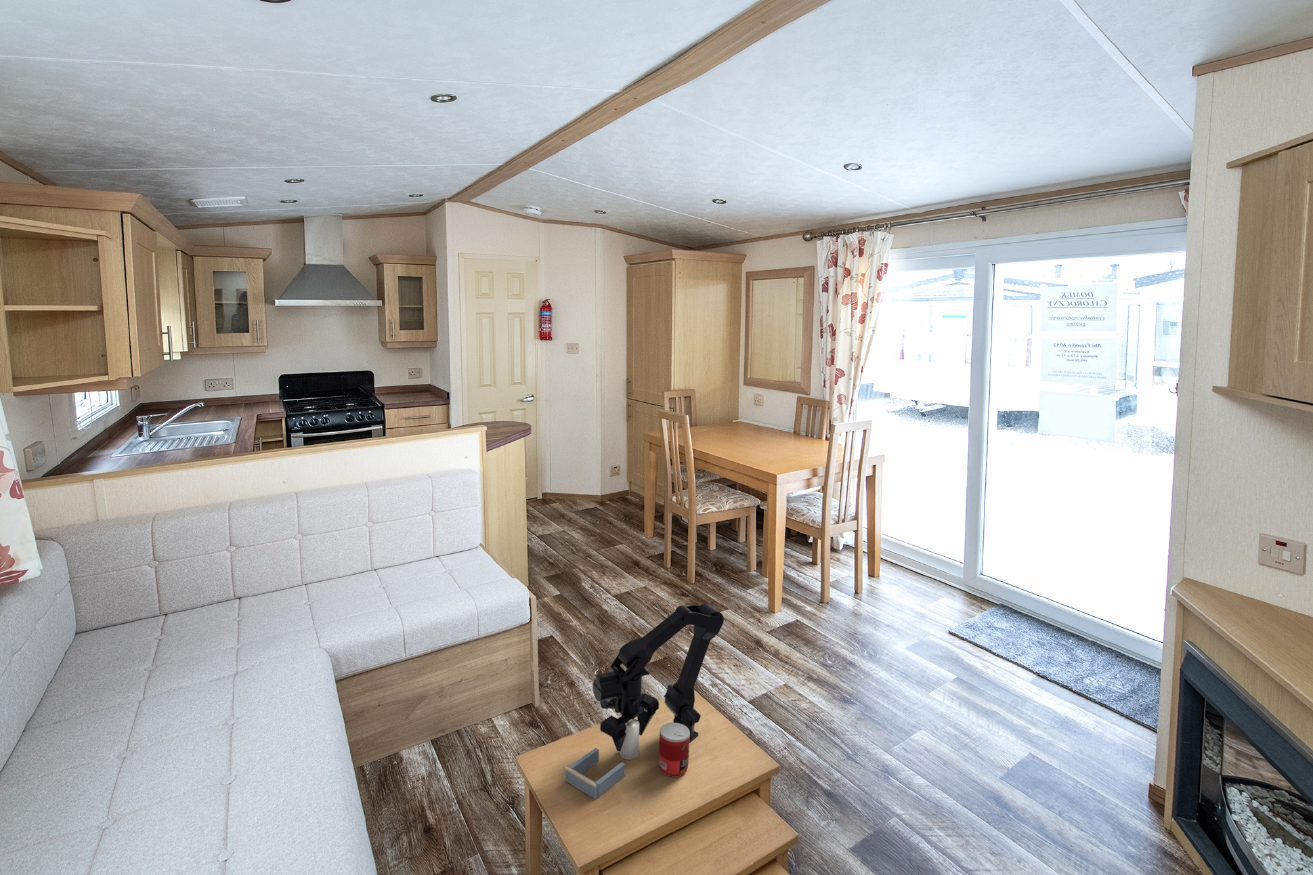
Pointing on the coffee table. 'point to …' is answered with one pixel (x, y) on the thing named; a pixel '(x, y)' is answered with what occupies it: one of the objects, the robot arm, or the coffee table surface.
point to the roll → (631, 740)
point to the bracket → (587, 784)
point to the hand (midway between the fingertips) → (629, 742)
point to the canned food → (674, 749)
